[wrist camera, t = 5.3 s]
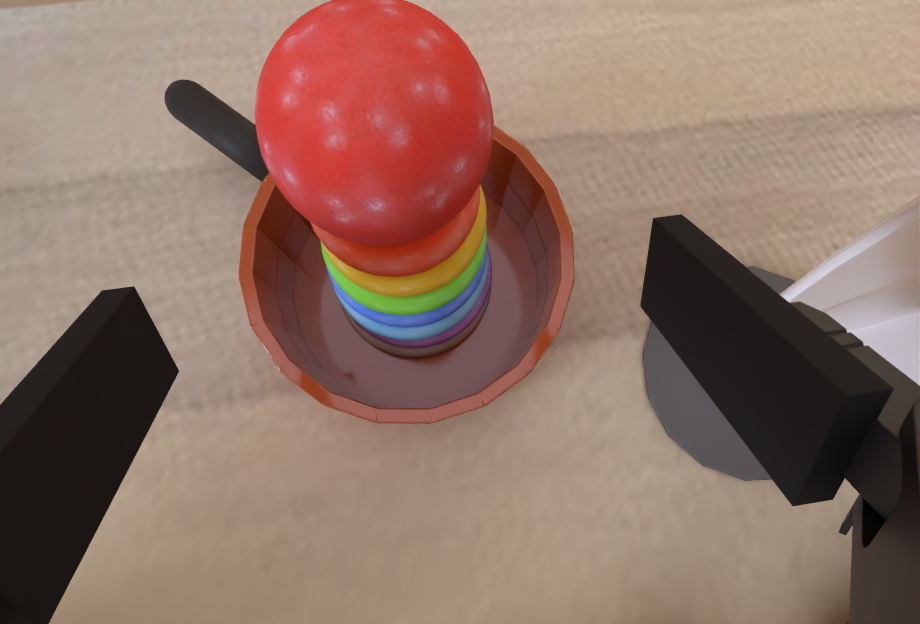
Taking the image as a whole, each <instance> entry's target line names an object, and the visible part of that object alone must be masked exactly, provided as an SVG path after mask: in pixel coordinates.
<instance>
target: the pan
mask: <svg viewBox="0 0 920 624" xmlns="http://www.w3.org/2000/svg"><path fill="white" fill-rule="evenodd" d="M493 129H494V131H493V143H492V151H491V156H490V159H489V162H488V165H487V169H486V171H485V174H484V176H483V178H482V180H481V183H480V184H481V187H482V190H483V193H484V197H485V202H486V212H487V215H486V230H487V245H488V248H489V252H490V255H491V261H492V285H491V295H490V299H489V302H488V306H487V308H486V311H485V313H484V315H483V317H482V318H481V320H480V322H479V323H478V325H477V326H476V327H475V328H474V330H473V331H472V332H471V333H470V334H469V335H468V336H467V337H466V338H465V339H463V340H462V341H461V342H460V343H458V344H457V345H455V346H453V347H451V348H450V349H448V350H445V351H443V352H440V353H437V354H434V355H429V356H424V357H404V356H398V355H393V354H390V353H387V352H384V351H382V350H380V349H378V348H376V347H374V346H373V345H371V344H370V343H368V342H366V341H365V340H364V339H363V338H362V337H361V336H360V335H359V334H358V333H357V332H356V331H355V330H354V328H353V327H352V326H351V324H350V323H349V321H348V320H347V318H346V316H345V313H344V311H343V309H342V306H341V302H340V300H339V299H338V297H337V295H336V292H335V290H334V287H333V284H332V281H331V279H330V277H329V274H328V271H327V267H326V263H325V260H324V257H323V253H322V247H321V241H320V239H319V238H318V236H317V235H316V233H315V232H314V230H313V227H312V225H311V223H310V221H309V220H307V219H306V218H305V217H304V216H303V215H302V214H300V213H299V212H298V211H297V210H296V209H295V208H294V207H293V206H292V205H291V204H290V203H289V202H288V201H287V200H286V198H285V197H284V195H283V194H282V193H281V191H280V190H279V188H278V187H277V186H276V184H275V183H274V181H273V179H272V177H271V175H270V173H269V174H268V175H267V176H266V177H265V180H263V182H262V184H261V186H260V189H259V191H258V193H257V195H256V198H255V200H254V202H253V204H252V207H251V209H250V211H249V214H248V216H247V218H246V220H245V223H244V226H243V234H242V245H241V256H240V267H239V280H240V284H241V288H242V292H243V297H244V301H245V305H246V309H247V313H248V317H249V321H250V325H251V326H252V329H253V331H254V332H255V334H256V336H257V337H258V339H259V340H260V342H261V343H262V345H263V346H264V348H265V349H266V351H267V352H268V354H269V356H270V357H271V359H272V360H273V362H274V363H275V365H276V366H277V368H278V369H279V370H280V372H281V373H282V374H284V375H285V376H286V377H287V378H289V379H290V380H291V381H293V382H294V383H295V384H296V385H298V386H299V387H300V388H302V389H303V390H304V391H305V392H307V393H308V394H309V395H311V396H312V397H313V398H314V399H316V400H317V401H318V402H320V403H321V404H323V405H325V406H327V407H330V408H333V409H336V410H339V411H342V412H345V413H348V414H351V415H353V416H356V417H359V418H362V419H365V420H368V421H371V422H374V423H375V422H376V423H423V424H430V423H435V422H438V421H441V420H445V419H448V418H451V417H454V416H457V415H460V414H463V413H466V412H469V411H472V410H475V409H479V408H482V407H484V406H486V405H488V404H489V403H490V402H492V401H493V400H494V399H496V398H497V397H499V396H500V395H501V394H503V393H504V392H505V391H507V390H508V389H509V388H511V387H512V386H514V385H515V384H516V383H518V382H519V381H520V380H522V379H523V378H524V377H526V376H527V375H528V374H529V373H530V372H531V371H532V369H533V368H534V367H535V365H536V364H537V362H538V361H539V359H540V358H541V357H542V355H543V354H544V352H545V351H546V350H547V348H548V347H549V345H550V344H551V342H552V341H553V340H554V338H555V337H556V335H557V334H558V333H559V330H560V328H561V325H562V321H563V318H564V315H565V311H566V308H567V305H568V301H569V298H570V295H571V291H572V288H573V285H574V252H573V232H572V228H571V226H570V223H569V220H568V218H567V215H566V212H565V210H564V207H563V204H562V201H561V199H560V196H559V193H558V191H557V188H556V186H555V184H554V183H553V181H552V180H551V179H550V178H549V176H548V175H547V174H546V172H545V171H544V170H543V169H542V167H541V166H540V165H539V164H538V162H537V161H536V160H535V159H534V157H533V156H532V155H531V153H530V152H529V151H528V150H527V148H526V147H524V145H522V144H521V143H519V142H518V141H516V140H515V139H513V138H512V137H510V136H509V135H508V134H506V133H505V132H503V131H502V130H500V129H499V128H497V127H496V126H494V125H493Z"/></svg>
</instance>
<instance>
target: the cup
mask: <svg viewBox="0 0 920 624" xmlns="http://www.w3.org/2000/svg"><path fill="white" fill-rule="evenodd" d="M746 268H748V269H749V270H750V271H751V272H753V273H754V274H755V275H756V276H757V277H759V278H760V279H761V280H762V281H764V282H765V283H766V284H767V285H768V286H770V287H771V288H772V289H773V290H775V291H776V292H777V293H778V294H779V295H781V296H782V297H783V298H784V299H786V300H787V301H788V302H789V303H792V302H799V301H800V302H802V303H805V304H807V305H809V306H811V307H813V308H816V309H818V310H820V311H822V312H824V313H826V314H828V315H829V316H830V317H832V318H833V319H834V320H836V321H837V322H838V323H839V324H841V325H842V326H843V327H845V328H846V329H847V332H848V333H849V332H851V333H852V334H854V335H855V336H856V337H857V338H859V339H860V340H861V341H863V345H864V346H867V345H868V346H869V347H870V348H872V349H873V350H874V351H876V352H877V353H878V354H879V355H881V356H882V357H883V358H885V359H886V360H887V361H888V362H890V363H891V364H892V365H894V366H895V367H896V368H897V369H899V370H900V371H901V372H903V373H904V374H905V375H907V376H908V377H909V378H910V379H912V380H913V381H914V382H916V383H917V384H918V385H919V386H920V195H919V196H918V197H916V198H915V199H913V200H912V201H910V202H909V203H907V204H906V205H904V206H903V207H901V208H900V209H898V210H897V211H895V212H894V213H892V214H891V215H889V216H888V217H886V218H885V219H883V220H882V221H880V222H879V223H878V224H876V225H875V226H873V227H872V228H870V229H869V230H867V231H866V232H864V233H863V234H861V235H860V236H858V237H857V238H855V239H854V240H852V241H851V242H849V243H848V244H846V245H845V246H843V247H842V248H840V249H839V250H837V251H836V252H834V253H833V254H831V255H830V256H829V257H827V258H826V259H825V260H824V261H822V262H821V263H820V264H818V265H817V266H816V267H814V268H813V269H812V270H811V271H809V272H808V273H807V274H805V275H804V276H803V277H801V278H800V279H799V280H798V281H796V282H795V281H793V280H792V279H789V278H786V277H783V276H780V275H777V274H774V273H771V272H768V271H765V270H762V269H759V268H756V267H754V266H752V267H746ZM643 357H644V365H645V374H646V382H647V391H648V397H649V399H650V400H651V402H652V404H653V406H654V408H655V410H656V412H657V414H658V415H659V417H660V419H661V421H662V423H663V425H664V427H665V429H666V430H667V432H668V434H669V436H670V437H671V438H673V439H674V440H675V441H676V442H677V443H678V444H679V445H681V446H682V447H683V448H684V449H685V450H686V451H687V452H689V453H690V454H691V455H692V456H693V457H694V458H695V459H697V460H698V461H699V462H700V463H701V464H702V465H703V466H706V467H709V468H712V469H714V470H717V471H720V472H723V473H726V474H728V475H731V476H734V477H737V478H739V479H742V480H745V481H749V480H766V479H772V478H771V477H770V476H769V474H768V473H767V472H766V471H765V469H764V468H763V467H762V465H761V464H760V463H759V461H758V460H757V459H756V457H755V456H754V455H753V453H752V452H751V451H750V450H749V448H748V447H747V446H746V444H745V443H744V442H743V440H742V439H741V438H740V436H739V435H738V434H737V432H736V431H735V430H734V429H733V427H732V426H731V425H730V423H729V422H728V421H727V419H726V418H725V417H724V415H723V414H722V413H721V411H720V410H719V409H718V407H717V406H716V405H715V404H714V402H713V401H712V400H711V398H710V397H709V396H708V394H707V393H706V392H705V390H704V389H703V388H702V386H701V385H700V384H699V383H698V381H697V380H696V379H695V377H694V376H693V375H692V373H691V372H690V371H689V369H688V368H687V367H686V365H685V364H684V363H683V362H682V360H681V359H680V358H679V356H678V355H677V354H676V352H675V351H674V350H673V348H672V347H671V346H670V344H669V343H668V342H667V341H666V339H665V338H664V337H663V335H662V334H661V333H660V331H659V330H658V329H657V327H656V326H655V325H654V323H653V322H652V324H651V327H650V331H649V334H648V338H647V341H646V345H645V348H644V352H643Z"/></svg>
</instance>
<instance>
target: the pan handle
mask: <svg viewBox="0 0 920 624" xmlns="http://www.w3.org/2000/svg"><path fill="white" fill-rule="evenodd" d="M165 104H166V106H167V109H168V110H169V112H170V113H171V114H172V115H173V116H174V117H175V118H176V119H177V120H179V121H180V122H181V123H183V124H184V125H185V126H187V127H188V128H189V129H191V130H192V131H194V132H195V133H196V134H198V135H199V136H200V137H202V138H203V139H204V140H206V141H207V142H209V143H210V144H211V145H213V146H214V147H215V148H217V149H218V150H219V151H221V152H222V153H223V154H225V155H226V156H228V157H229V158H230V159H232V160H233V161H234V162H236V163H237V164H238V165H240V166H241V167H243V168H244V169H245V170H247V171H248V172H249V173H251V174H252V175H253V176H255V177H256V178H257V179H259V180H260V181H262V182H263V180H265V177H266V176H267V175H268V174H269V171H268V169H267V167H266V165H265V162H264V160H263V158H262V155H261V151H260V147H259V143H258V138H257V132H256V125H255V124H253V123H252V122H250V121H249V120H248V119H246V118H245V117H243V116H242V115H241V114H239V113H238V112H237V111H235V110H234V109H232V108H231V107H230V106H228V105H227V104H225V103H224V102H223V101H221V100H220V99H219V98H217V97H216V96H214V95H213V94H212V93H210V92H209V91H207V90H206V89H205V88H203V87H202V86H201V85H199V84H197V83H196V82H193V81H190V80H178V81H175V82H173V83H172V84H170V85H169V87H168V88H167V90H166V92H165Z"/></svg>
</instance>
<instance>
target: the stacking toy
mask: <svg viewBox="0 0 920 624" xmlns="http://www.w3.org/2000/svg"><path fill="white" fill-rule="evenodd" d="M255 123H256V132H257V138H258V143H259V147H260V151H261V155H262V158H263V160H264V162H265V165H266V167H267V169H268V171H269V173H270V175H271V177H272V179H273V181H274V183H275V184H276V186H277V187H278V188H279V190H280V191H281V193H282V194H283V195H284V197H285V198H286V200H287V201H288V202H289V203H290V204H291V205H292V206H293V207H294V208H295V209H296V210H297V211H298V212H299V213H300V214H302V215H303V216H304V217H305V218H306V219H307V220H309V221H310V223H311V225H312V227H313V230H314V232H315V233H316V235H317V236H318V238H319V239H320V241H321V247H322V253H323V257H324V260H325V263H326V267H327V271H328V274H329V277H330V279H331V281H332V284H333V287H334V290H335V292H336V295H337V297H338V299H339V300H340V302H341V306H342V309H343V311H344V313H345V316H346V318H347V320H348V321H349V323H350V324H351V326H352V327H353V328H354V330H355V331H356V332H357V333H358V334H359V335H360V336H361V337H362V338H363V339H364V340H365V341H366V342H368V343H370V344H371V345H373V346H374V347H376V348H378V349H380V350H382V351H384V352H387V353H390V354H393V355H398V356H404V357H424V356H429V355H434V354H437V353H440V352H443V351H445V350H448V349H450V348H451V347H453V346H455V345H457V344H458V343H460V342H461V341H462V340H463V339H465V338H466V337H467V336H468V335H469V334H470V333H471V332H472V331H473V330H474V328H475V327H476V326H477V325H478V323H479V322H480V320H481V318H482V317H483V315H484V313H485V311H486V308H487V306H488V302H489V299H490V295H491V285H492V261H491V255H490V252H489V248H488V245H487V230H486V215H487V212H486V202H485V197H484V193H483V190H482V187H481V184H480V183H481V180H482V178H483V176H484V174H485V171H486V169H487V165H488V162H489V159H490V156H491V151H492V143H493V131H494V129H493V111H492V105H491V99H490V94H489V91H488V88H487V85H486V82H485V79H484V77H483V74H482V72H481V70H480V68H479V65H478V63H477V61H476V60H475V58H474V56H473V55H472V53H471V52H470V50H469V48H468V47H467V45H466V44H465V42H464V41H463V40H462V39H461V38H460V37H459V35H458V34H457V33H455V32H454V31H453V30H452V29H451V28H450V27H449V26H448V25H446V24H445V23H444V22H443V21H442V20H440V19H439V18H438V17H436V16H435V15H434V14H432V13H431V12H429V11H427V10H425V9H423V8H421V7H419V6H417V5H415V4H413V3H410V2H407V1H404V0H332V1H330V2H327V3H324V4H322V5H320V6H318V7H316V8H314V9H312V10H310V11H309V12H307V13H306V14H304V15H303V16H302V17H300V18H299V19H298V20H296V21H295V22H294V23H293V24H292V25H291V26H290V27H289V28H288V29H287V30H286V31H285V32H284V33H283V35H282V36H281V37H280V39H279V40H278V41H277V43H276V44H275V45H274V47H273V49H272V50H271V52H270V53H269V55H268V57H267V59H266V62H265V64H264V66H263V68H262V71H261V74H260V78H259V82H258V87H257V94H256V106H255Z"/></svg>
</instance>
